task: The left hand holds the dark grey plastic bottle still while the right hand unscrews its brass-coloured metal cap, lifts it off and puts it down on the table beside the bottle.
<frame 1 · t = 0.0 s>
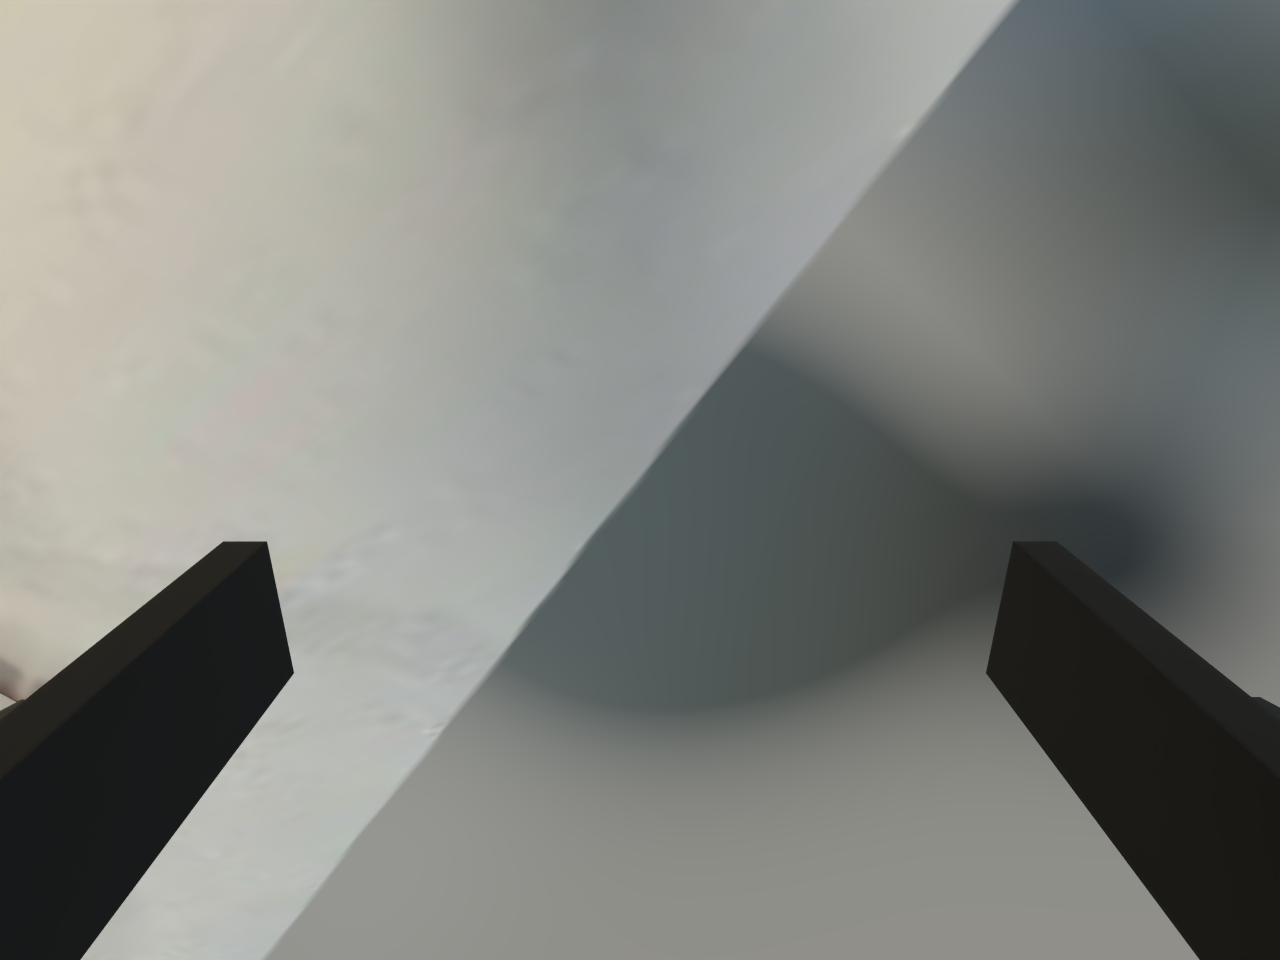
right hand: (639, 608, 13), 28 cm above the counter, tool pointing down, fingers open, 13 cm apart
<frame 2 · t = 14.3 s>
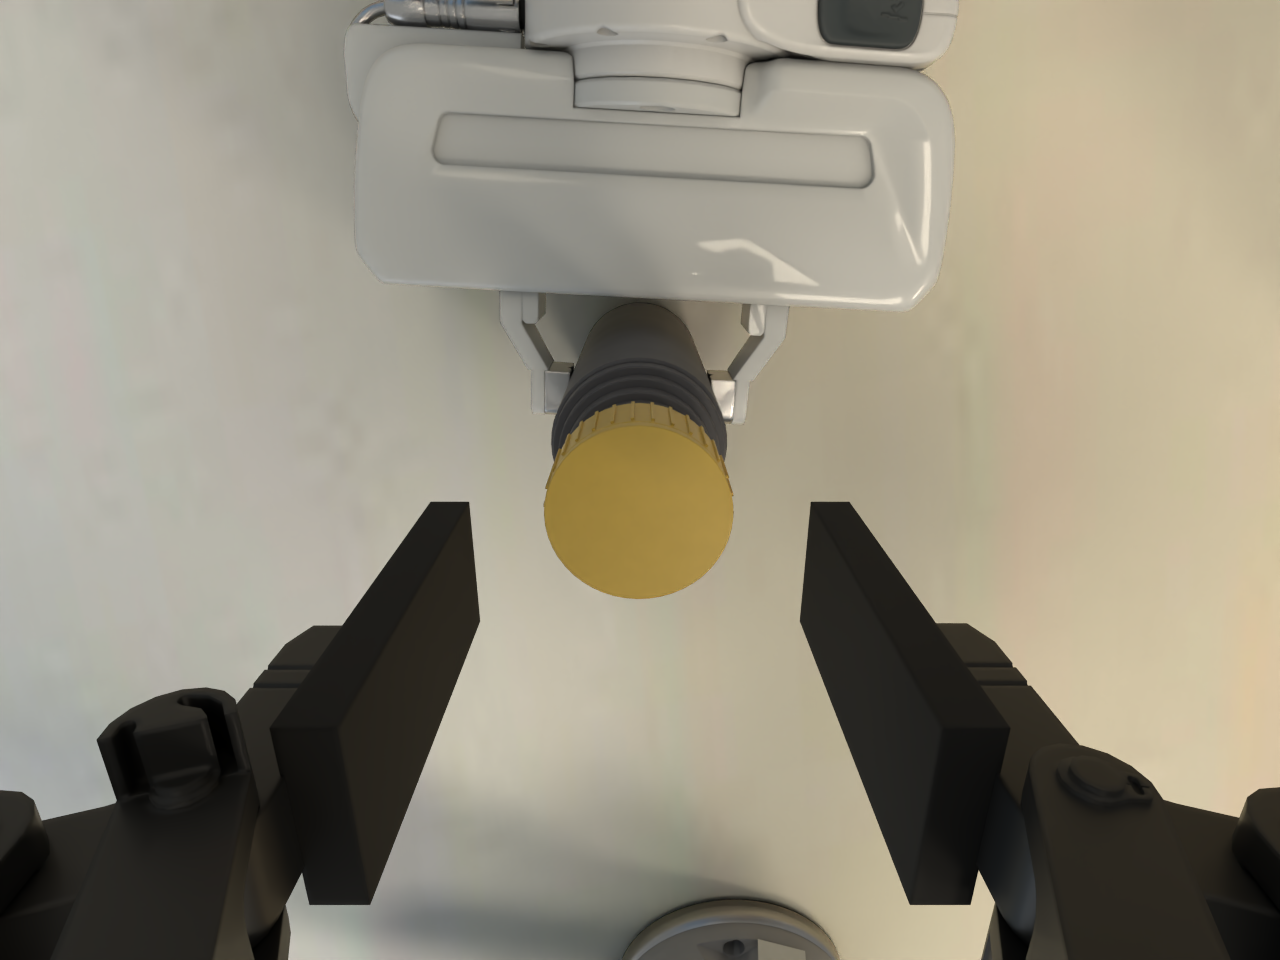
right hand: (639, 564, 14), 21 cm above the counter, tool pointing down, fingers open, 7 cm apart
left hand: (639, 415, 28), fingers closed on bottle, 5 cm apart
bottle: (639, 359, 34), on the counter, touching left hand
cap: (638, 511, 17), point 18 cm above the counter, screwed on, not yet turned
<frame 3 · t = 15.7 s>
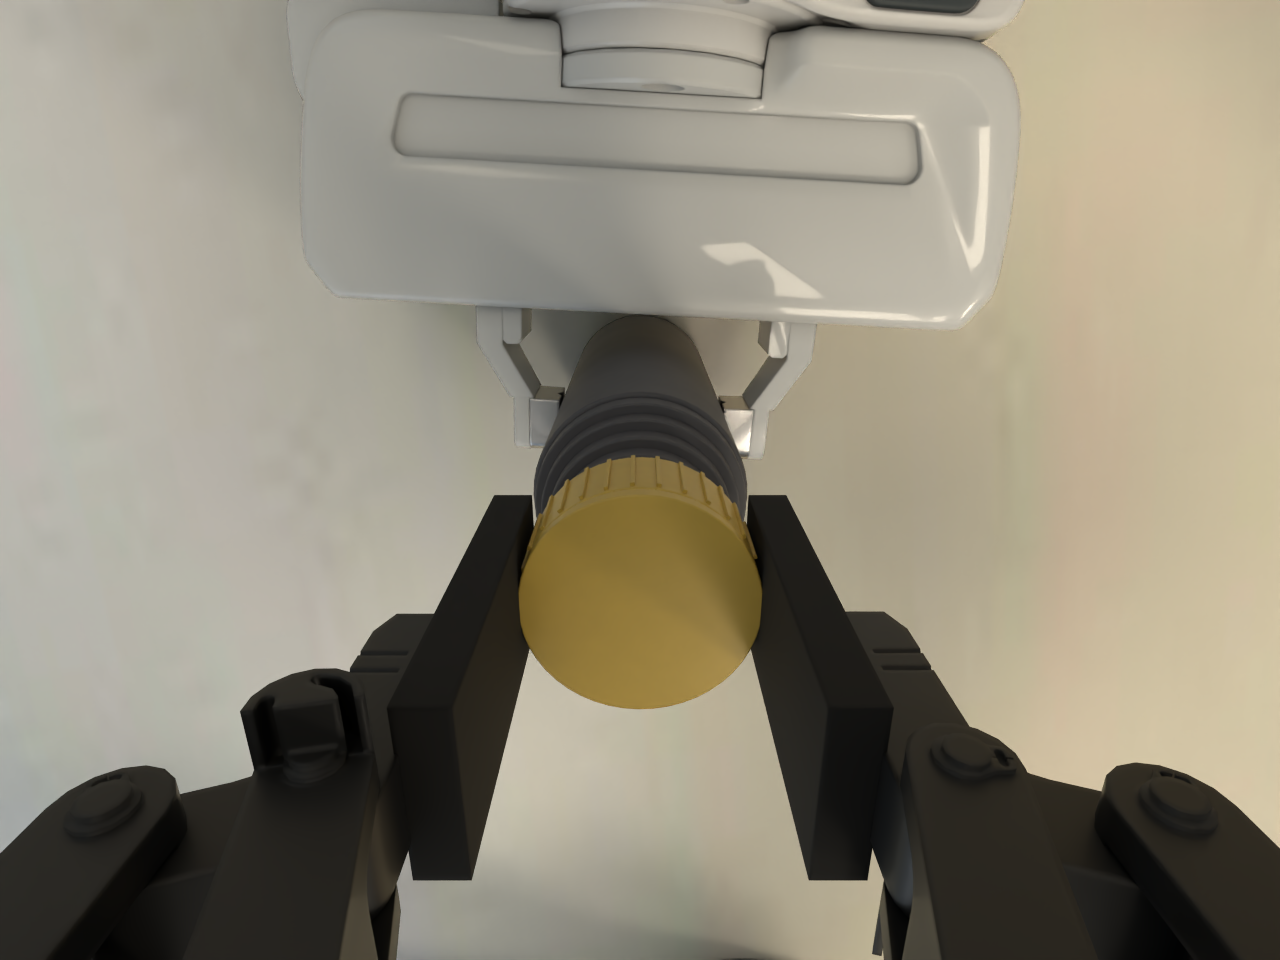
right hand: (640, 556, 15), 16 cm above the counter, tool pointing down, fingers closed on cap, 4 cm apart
left hand: (640, 449, 24), fingers closed on bottle, 5 cm apart
bottle: (640, 379, 30), on the counter, touching left hand
cap: (640, 600, 13), point 18 cm above the counter, screwed on, not yet turned, touching right hand
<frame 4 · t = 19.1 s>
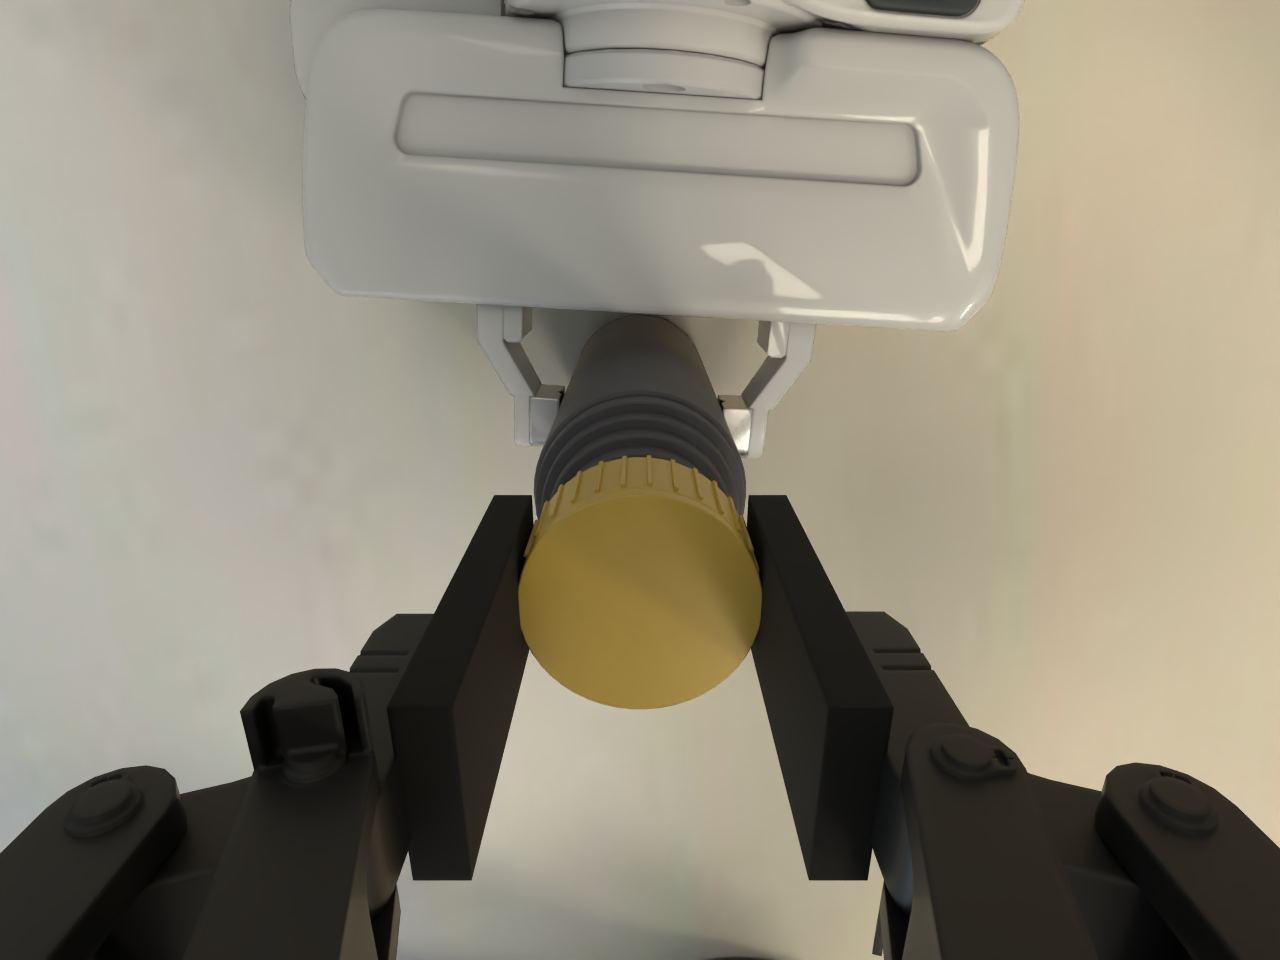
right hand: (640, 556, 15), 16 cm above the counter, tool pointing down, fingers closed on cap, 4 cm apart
left hand: (639, 447, 24), fingers closed on bottle, 5 cm apart
bottle: (640, 378, 30), on the counter, touching left hand
cap: (639, 600, 13), point 18 cm above the counter, turned 124° so far, risen 0.1 cm, still on its thread, touching right hand
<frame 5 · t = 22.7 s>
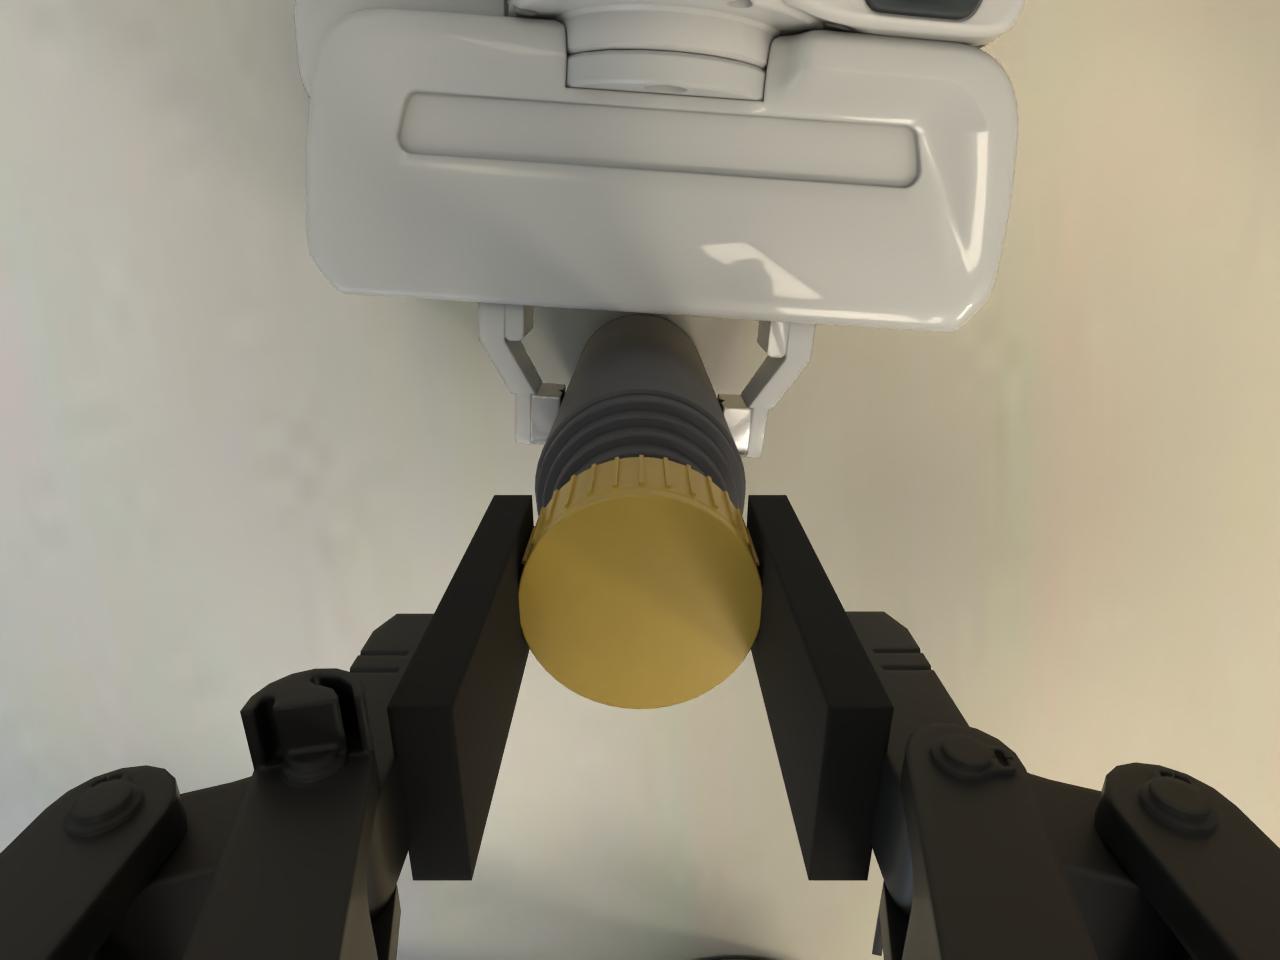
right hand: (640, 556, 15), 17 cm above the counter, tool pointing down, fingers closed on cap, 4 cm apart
left hand: (639, 446, 24), fingers closed on bottle, 5 cm apart
bottle: (640, 377, 30), on the counter, touching left hand
cap: (640, 600, 13), point 18 cm above the counter, turned 249° so far, risen 0.3 cm, still on its thread, touching right hand
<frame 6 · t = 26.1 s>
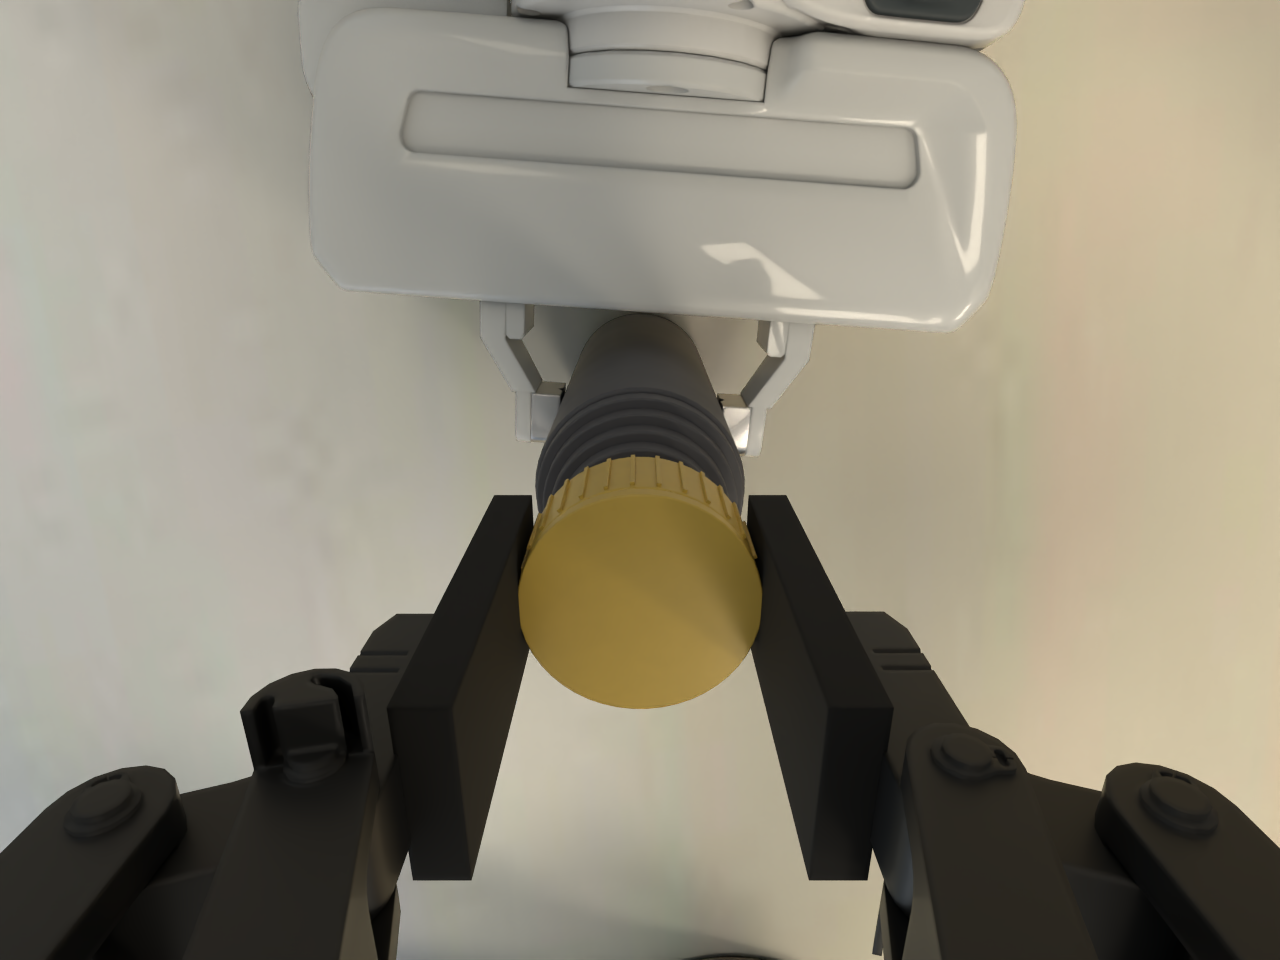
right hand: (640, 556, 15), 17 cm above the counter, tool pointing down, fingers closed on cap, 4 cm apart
left hand: (639, 444, 25), fingers closed on bottle, 5 cm apart
bottle: (639, 376, 30), on the counter, touching left hand
cap: (640, 600, 13), point 19 cm above the counter, turned 373° so far, risen 0.4 cm, still on its thread, touching right hand
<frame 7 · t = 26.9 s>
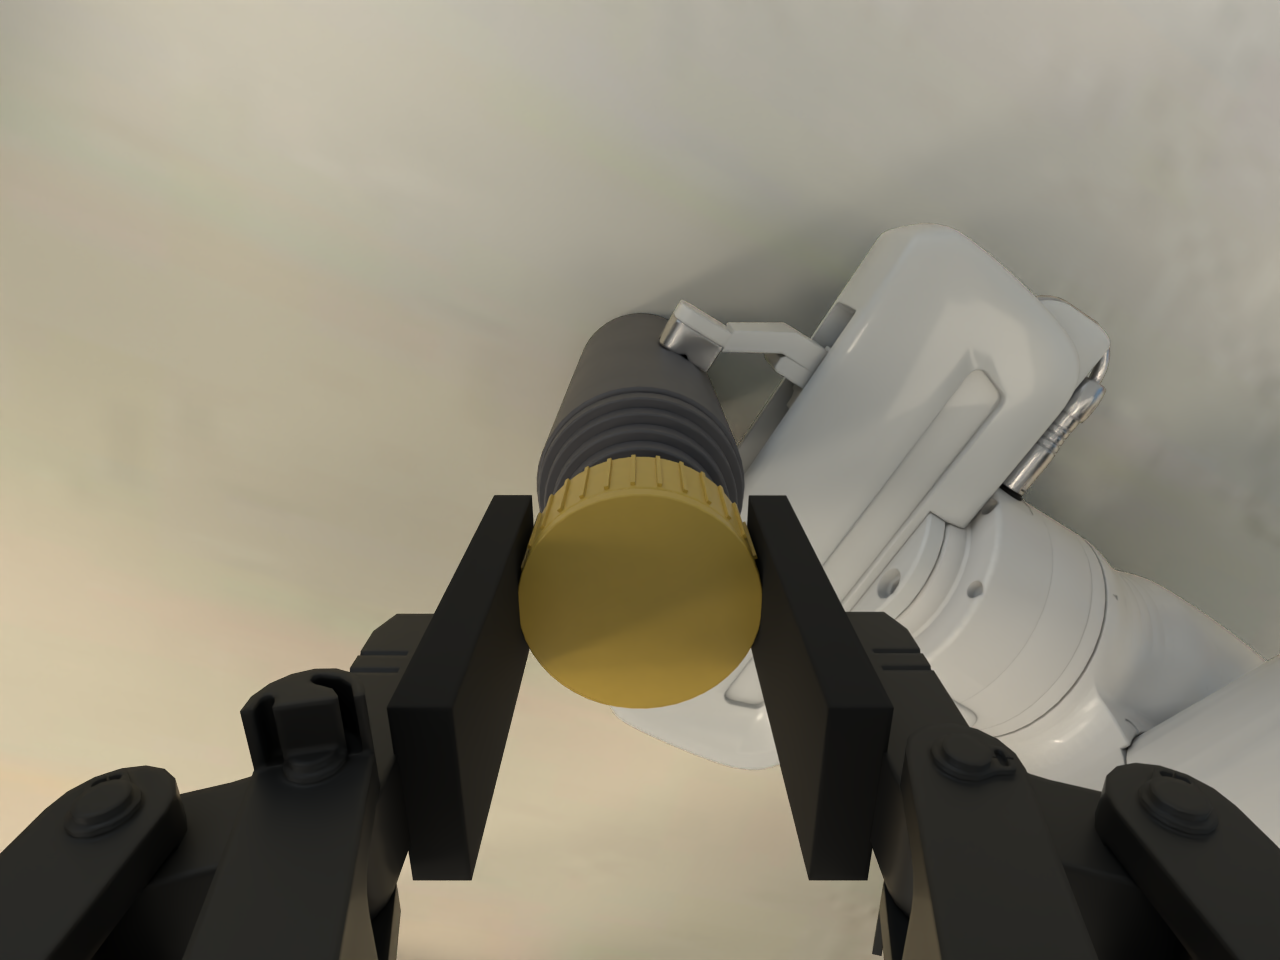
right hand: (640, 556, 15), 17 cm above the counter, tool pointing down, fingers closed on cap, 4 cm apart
left hand: (617, 407, 24), fingers closed on bottle, 5 cm apart
bottle: (640, 376, 30), on the counter, touching left hand
cap: (640, 600, 13), point 19 cm above the counter, off its thread, touching right hand
when the right hand's fingers open (1 cm above the counter, at t = 32.2 s): cap drops 1 cm, point 2 cm above the counter.
when the left hand's fingers open (7 cm above the counter, at t = 33.5 s): bottle stays where it is, on the counter.
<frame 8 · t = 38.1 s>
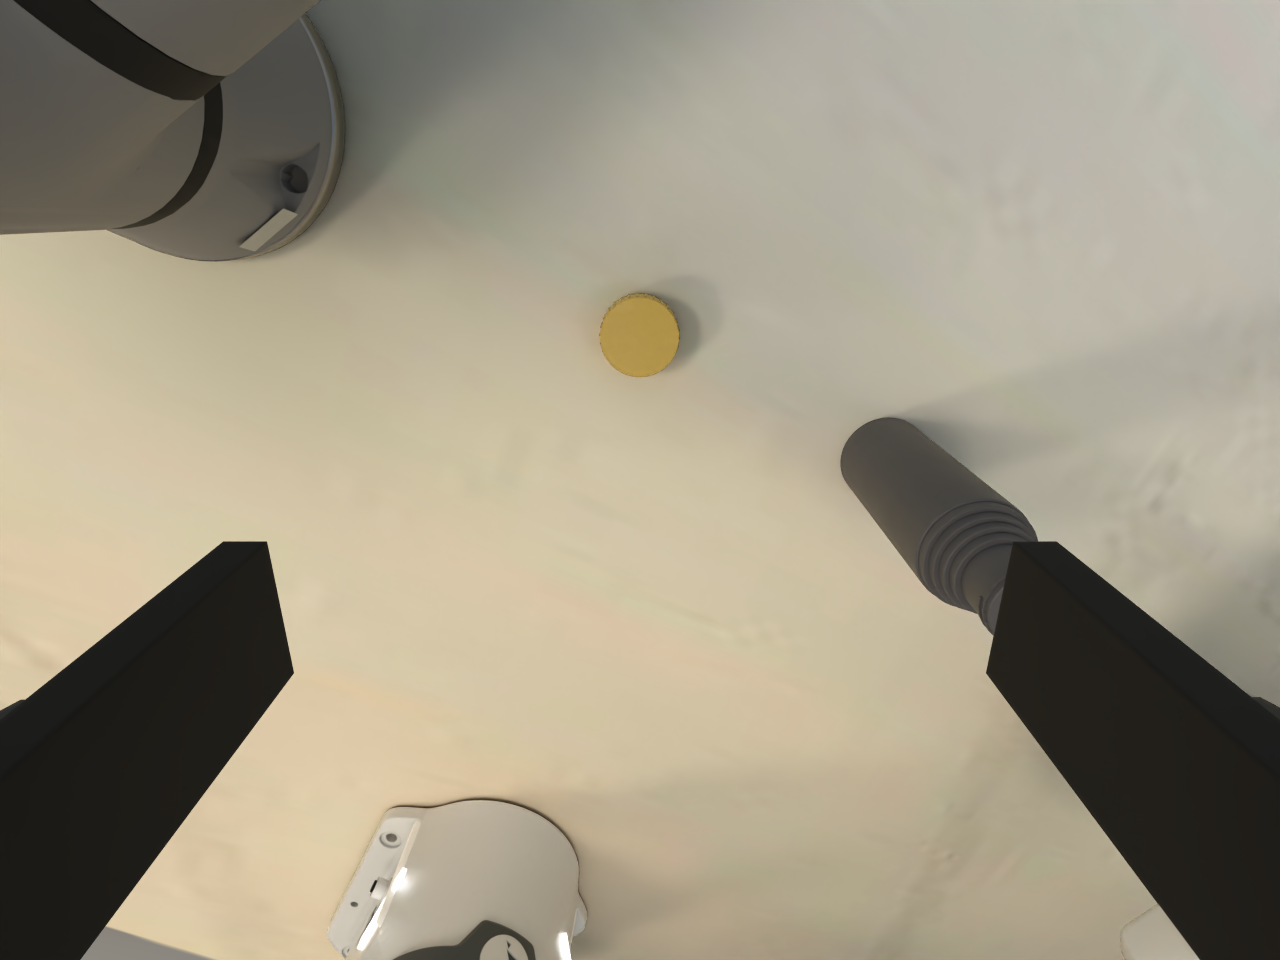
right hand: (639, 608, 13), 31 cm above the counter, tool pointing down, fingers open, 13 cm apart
bottle: (883, 458, 45), on the counter
cap: (639, 337, 40), point 2 cm above the counter, off its thread
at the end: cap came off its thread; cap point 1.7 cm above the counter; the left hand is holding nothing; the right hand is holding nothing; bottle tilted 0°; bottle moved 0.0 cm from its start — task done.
